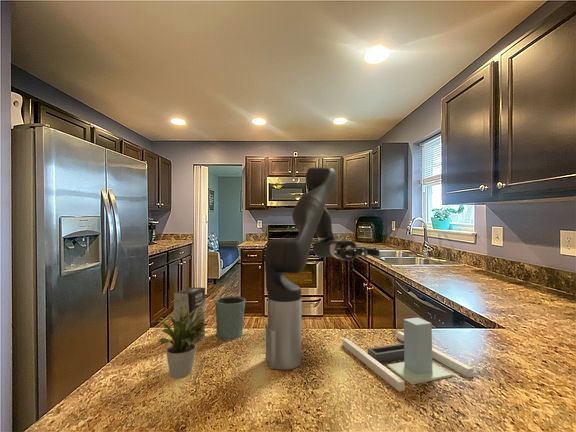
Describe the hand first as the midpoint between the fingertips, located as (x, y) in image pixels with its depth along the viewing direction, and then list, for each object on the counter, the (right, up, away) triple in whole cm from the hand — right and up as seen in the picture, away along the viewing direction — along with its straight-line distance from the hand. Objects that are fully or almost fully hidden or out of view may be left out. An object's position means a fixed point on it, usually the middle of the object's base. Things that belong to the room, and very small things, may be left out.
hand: (367, 253), depth 93 cm
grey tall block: (+7, -27, -21) cm, 35 cm away
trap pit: (+5, -27, -13) cm, 31 cm away
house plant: (-53, -27, -23) cm, 64 cm away
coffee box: (-58, -28, 0) cm, 64 cm away
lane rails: (+5, -27, -14) cm, 31 cm away
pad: (+7, -27, -21) cm, 35 cm away
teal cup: (-45, -28, +3) cm, 54 cm away
